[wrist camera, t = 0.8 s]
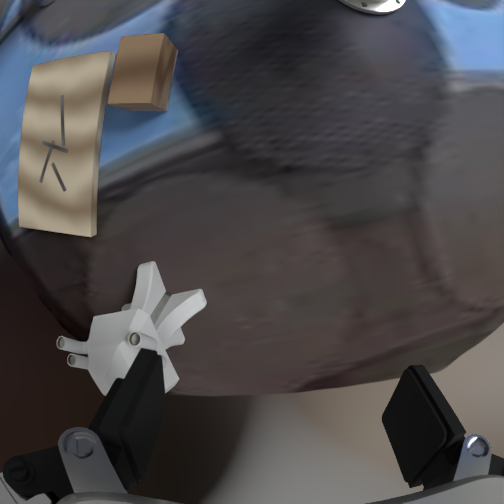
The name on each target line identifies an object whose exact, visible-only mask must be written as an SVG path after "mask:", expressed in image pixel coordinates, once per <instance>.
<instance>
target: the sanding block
mask: <svg viewBox="0 0 504 504" xmlns="http://www.w3.org/2000/svg"><path fill="white" fill-rule="evenodd" d="M177 54H178V50H177V49H176V47H175V46H174V45H173V44H172V42H171V41H170V40H169V38H168V37H167V36H166V35H165V33H158V34H143V35H132V36H123V37H121V41H120V45H119V49H118V53H117V57H116V62H115V66H114V71H113V76H112V81H111V86H110V92H109V97H108V103H107V104H109V105H112V106H115V107H119V108H122V109H125V110H128V111H167V110H168V104H169V97H170V91H171V85H172V80H173V74H174V69H175V64H176V59H177Z"/></svg>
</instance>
